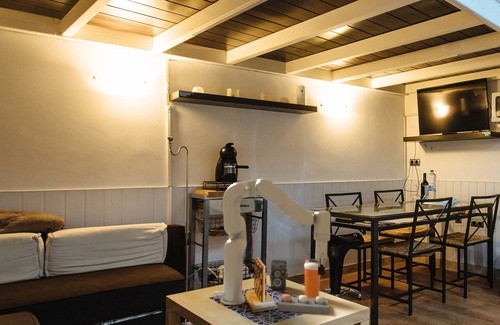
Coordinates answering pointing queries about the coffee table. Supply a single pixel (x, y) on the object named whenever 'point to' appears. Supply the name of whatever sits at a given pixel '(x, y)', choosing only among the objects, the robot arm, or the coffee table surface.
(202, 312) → the coffee table surface
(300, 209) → the robot arm
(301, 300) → the button cream
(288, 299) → the button rust
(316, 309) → the panel
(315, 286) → the shaker bottle
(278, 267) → the camera
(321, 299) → the button sage
